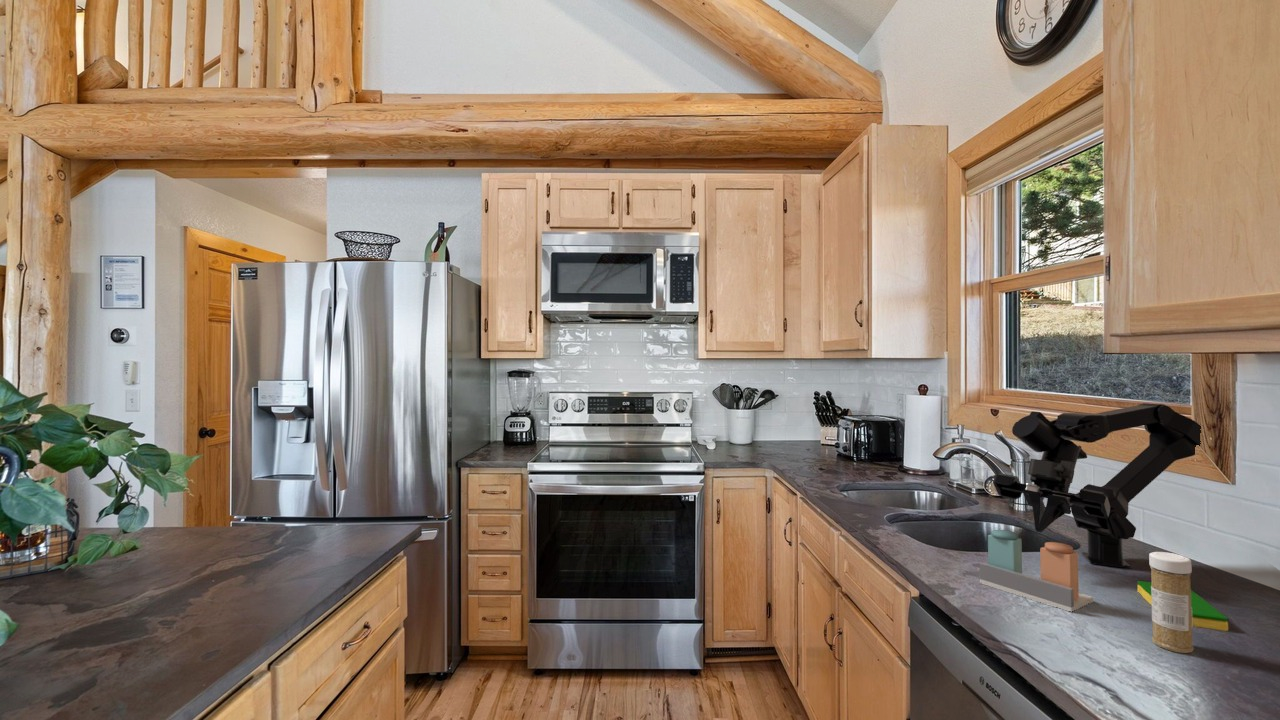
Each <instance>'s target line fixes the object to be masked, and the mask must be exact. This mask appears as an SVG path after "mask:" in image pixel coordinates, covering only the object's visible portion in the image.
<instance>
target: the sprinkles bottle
mask: <svg viewBox="0 0 1280 720" xmlns="http://www.w3.org/2000/svg"><path fill="white" fill-rule="evenodd" d="M1148 556H1149V557H1148V559H1149V566H1150V570H1151V571H1150V574H1151V576H1150V577H1151V583H1152V585H1151V599H1152V605H1151V620H1152V637H1151V641H1152V642H1153V644H1155V645H1156V646H1158V647H1160V648H1162V649H1166V650H1167V651H1171V652H1174V653H1182V654H1189V653H1193V652H1194V649H1195V648H1194V645H1193V627H1194V626H1193V619H1192V607H1191V590H1192V588H1191V575H1192V572H1193V570H1192V569H1193V568H1192V567H1193V566H1192V560H1191V559H1190V558H1189V557H1186V556H1184V555H1181V554H1178V553H1177V554H1176V553H1172V552H1167V551H1165V552H1164V551H1153V552H1150V553H1149V554H1148Z"/></svg>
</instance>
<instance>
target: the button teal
mask: <svg viewBox="0 0 1280 720" xmlns="http://www.w3.org/2000/svg"><path fill="white" fill-rule="evenodd" d="M1022 545H1023V544H1022V538H1020V537H1018V533H1016V532H1014V531H1011V530H1005V529H993V530H992V531H991V534H988V535H987V550H988V552H987V557H988V559H987V560H988V561H987V564H990V565H993V566H997V567H1000V568H1004V569H1007V570H1011V571H1014V572H1018V573H1021V574H1023V559H1022V558H1023V555H1022V554H1023V553H1022V551H1023V548H1022V547H1023V546H1022Z"/></svg>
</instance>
